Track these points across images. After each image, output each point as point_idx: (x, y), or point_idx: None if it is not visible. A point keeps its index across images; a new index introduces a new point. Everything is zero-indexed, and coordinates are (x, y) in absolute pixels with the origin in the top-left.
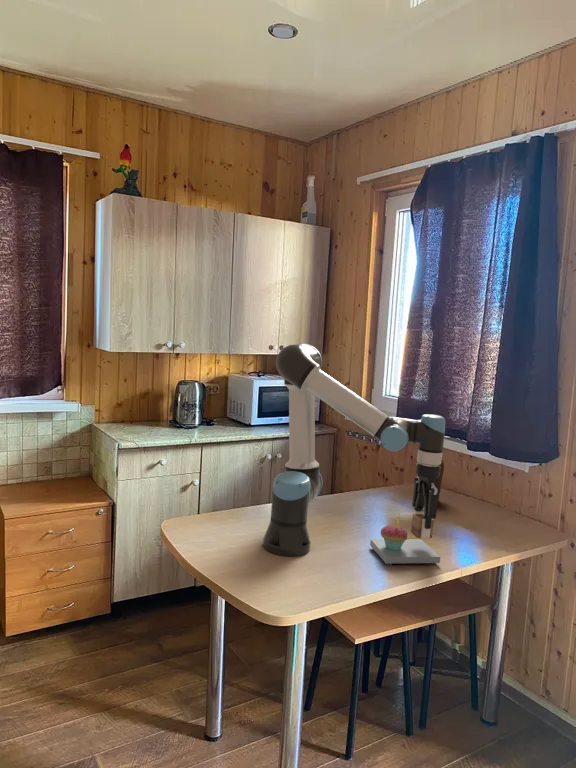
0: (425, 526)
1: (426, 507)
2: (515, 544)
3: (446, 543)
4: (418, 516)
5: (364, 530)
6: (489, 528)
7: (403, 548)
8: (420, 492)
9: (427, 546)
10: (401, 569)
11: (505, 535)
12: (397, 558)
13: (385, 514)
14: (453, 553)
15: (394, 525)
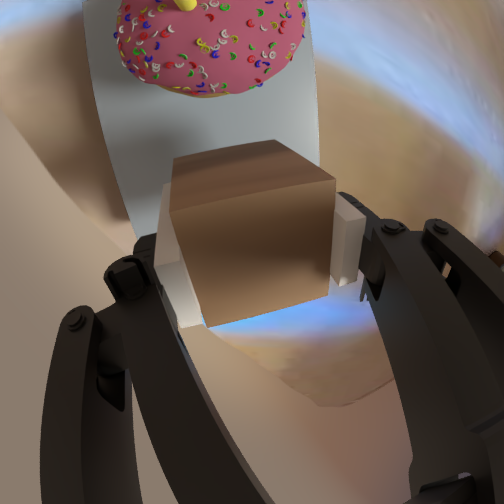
0: (153, 241)
1: (139, 397)
2: (313, 378)
3: None
4: (277, 222)
5: (429, 46)
6: (382, 348)
7: None
8: (463, 447)
9: None
10: (76, 71)
11: (351, 366)
12: (88, 48)
13: (487, 165)
14: None
15: (255, 5)
